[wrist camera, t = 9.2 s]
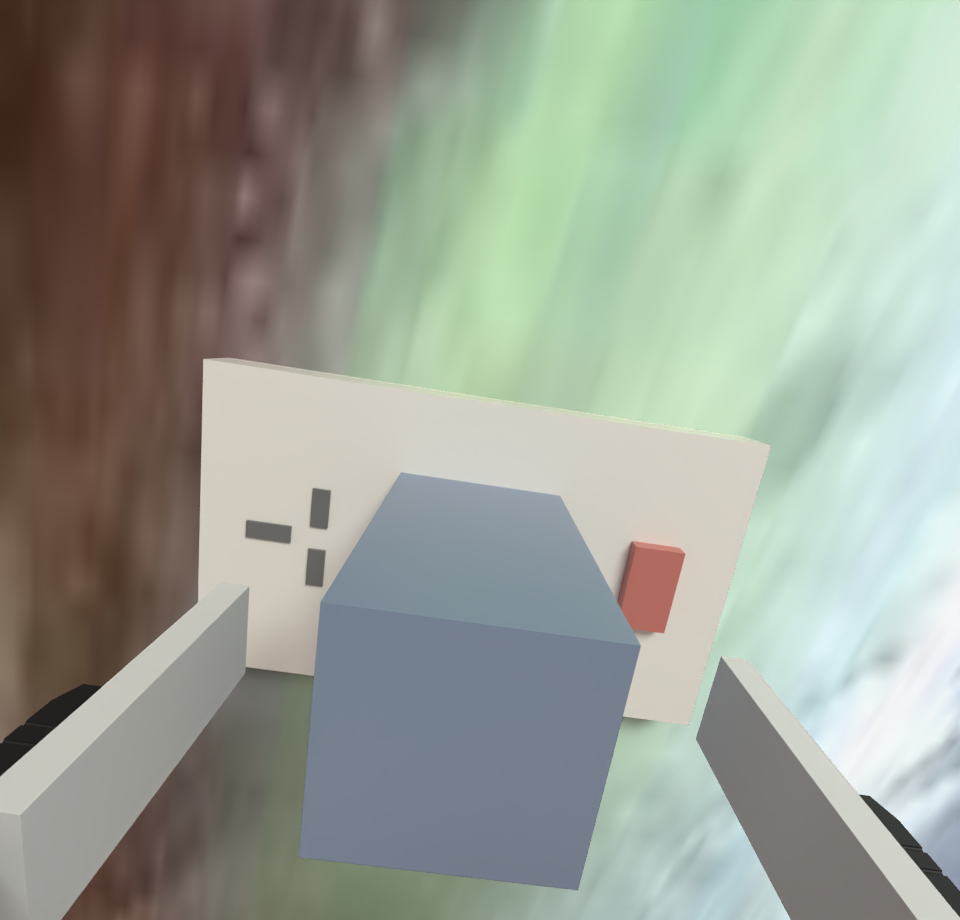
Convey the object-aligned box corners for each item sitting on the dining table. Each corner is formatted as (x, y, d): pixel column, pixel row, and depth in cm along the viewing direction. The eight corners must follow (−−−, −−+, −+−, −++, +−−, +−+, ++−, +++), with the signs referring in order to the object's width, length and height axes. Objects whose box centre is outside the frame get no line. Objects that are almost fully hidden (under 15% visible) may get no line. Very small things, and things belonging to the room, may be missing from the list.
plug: (552, 482, 21) (641, 645, 10) (527, 611, 23) (578, 890, 11) (408, 460, 21) (320, 602, 9) (392, 593, 23) (298, 857, 11)
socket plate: (744, 436, 21) (780, 449, 18) (671, 694, 24) (694, 735, 21) (230, 357, 20) (194, 359, 18) (220, 633, 23) (188, 669, 21)
